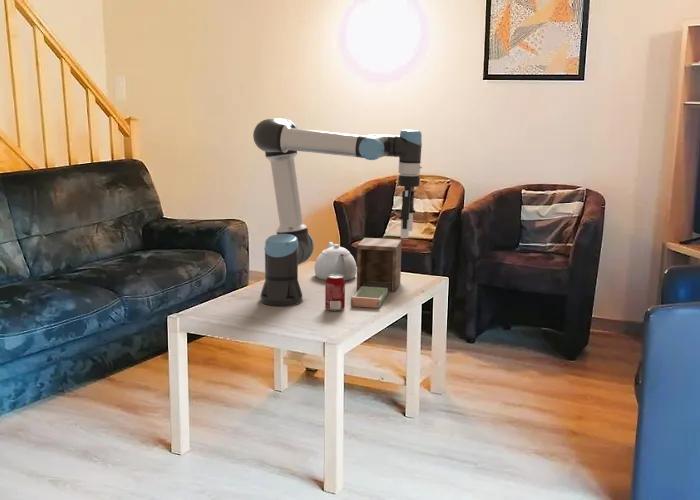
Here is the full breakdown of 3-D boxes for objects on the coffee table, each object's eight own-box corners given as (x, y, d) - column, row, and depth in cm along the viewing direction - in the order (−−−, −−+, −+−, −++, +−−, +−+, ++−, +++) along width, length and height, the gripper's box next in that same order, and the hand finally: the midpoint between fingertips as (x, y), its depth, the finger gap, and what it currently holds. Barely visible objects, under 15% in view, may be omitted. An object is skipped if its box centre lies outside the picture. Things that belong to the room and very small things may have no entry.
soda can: (342, 312, 269) (342, 278, 267) (323, 311, 271) (323, 277, 268) (346, 307, 276) (346, 274, 273) (327, 306, 277) (328, 273, 275)
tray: (350, 305, 277) (351, 297, 276) (361, 291, 296) (361, 283, 295) (378, 307, 275) (379, 299, 274) (387, 293, 294) (387, 285, 293)
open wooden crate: (356, 289, 300) (357, 244, 296) (363, 280, 314) (364, 237, 310) (395, 292, 297) (396, 247, 293) (400, 283, 311) (401, 239, 308)
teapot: (366, 275, 323) (367, 243, 320) (342, 284, 308) (343, 250, 305) (328, 269, 333) (329, 237, 330) (303, 277, 317) (303, 244, 315)
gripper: (416, 179, 262) (413, 241, 266) (422, 171, 286) (420, 228, 290) (394, 178, 263) (391, 240, 268) (402, 170, 287) (399, 227, 292)
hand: (406, 234), depth 279 cm, fingers open, 13 cm apart
